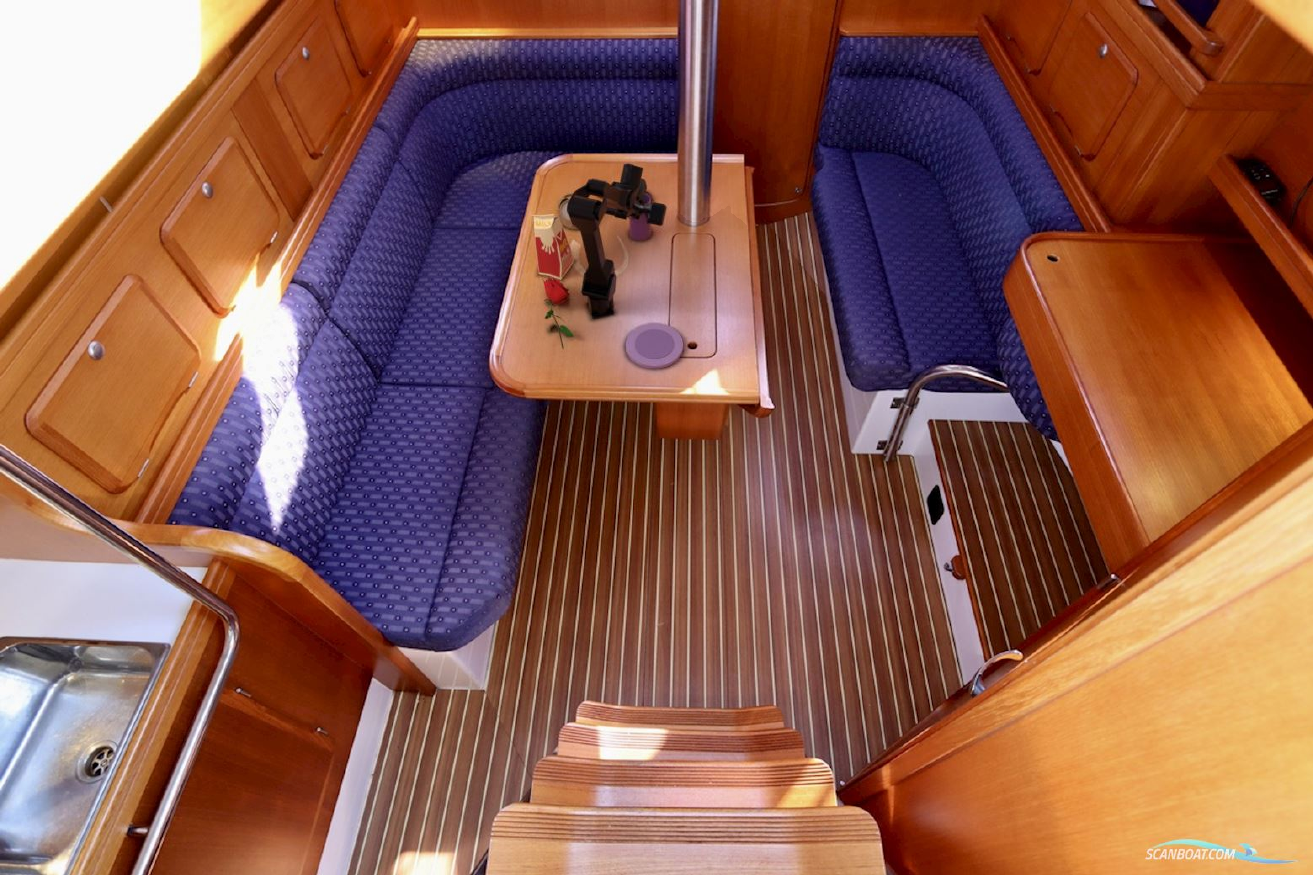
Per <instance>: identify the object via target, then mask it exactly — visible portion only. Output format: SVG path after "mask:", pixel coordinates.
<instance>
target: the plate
mask: <svg viewBox="0 0 1313 875" xmlns="http://www.w3.org/2000/svg"><path fill="white" fill-rule="evenodd" d="M625 351H626V354H627V357H628V358H629V359H630V360H631V361H632V362H633V363H634V364H635V365H637V366H640V367H642V368H644V369H651V370H652V369H653V370H657V369H663V368H666V367H670V366H671V365H673V364H674V363H676V362H677V361H678V360H679V359H680V357H681V356H682V354H683V352H684V341H683V338H682V336H681V333H679V331H677V330H676V329H675V328H673V327H672V326H670V325H667V324H665V323H660V322H649V323H645V324H640V325H639V326H636V328H634V329H633V330H632V331H630V333H629V334H628V336H627V337H626V340H625Z"/></svg>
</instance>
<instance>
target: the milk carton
mask: <svg viewBox="0 0 1313 875" xmlns="http://www.w3.org/2000/svg"><path fill="white" fill-rule="evenodd" d="M530 216H531V217H532V218H533V228H534V230H533V231H534V245H535V253H536V255H535V256H536V263H537V271H538V275H541V276H547V277H550V278H553V277H554V279H556V280H559V281H562V279H563V278H564V277H565V275H566V274H567V273H568V271H569V270H570V269H571V267H572V265H573V264H574V262H575V259H574V255H573V251H572V248H571V245H570V242H569V239H568V236H567V233H566V231H565V227H564V225H563V224H562V222H561V221H560V215H555V213H549V214H543V215H542V214H530Z"/></svg>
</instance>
